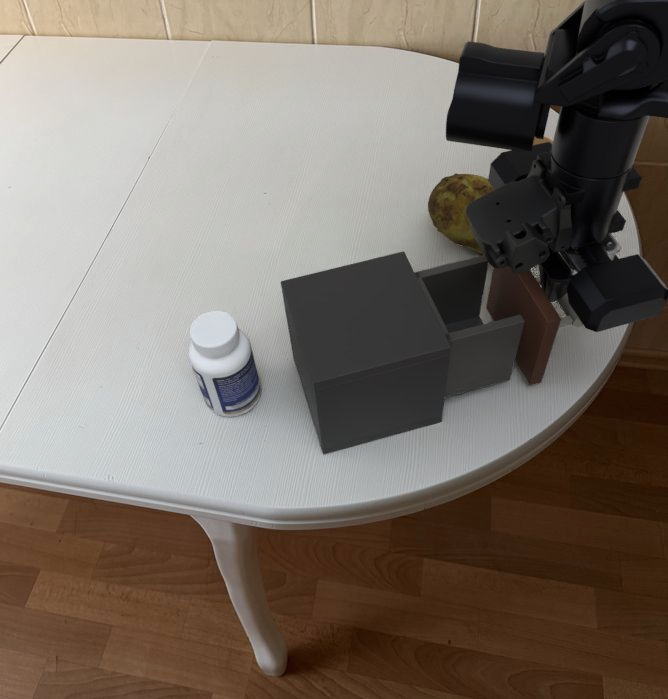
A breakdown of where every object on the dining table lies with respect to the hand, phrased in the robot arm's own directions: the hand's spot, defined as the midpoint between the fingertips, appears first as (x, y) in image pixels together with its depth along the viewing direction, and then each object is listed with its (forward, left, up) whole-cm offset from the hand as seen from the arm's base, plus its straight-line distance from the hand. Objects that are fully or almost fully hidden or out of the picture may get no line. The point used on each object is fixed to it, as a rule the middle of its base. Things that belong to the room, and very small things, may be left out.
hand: (550, 299), depth 62 cm
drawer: (+3, +4, -5) cm, 7 cm away
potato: (+10, -10, -6) cm, 16 cm away
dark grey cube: (+11, +13, -6) cm, 19 cm away
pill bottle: (+21, +20, -6) cm, 30 cm away
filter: (+12, -24, -6) cm, 28 cm away
